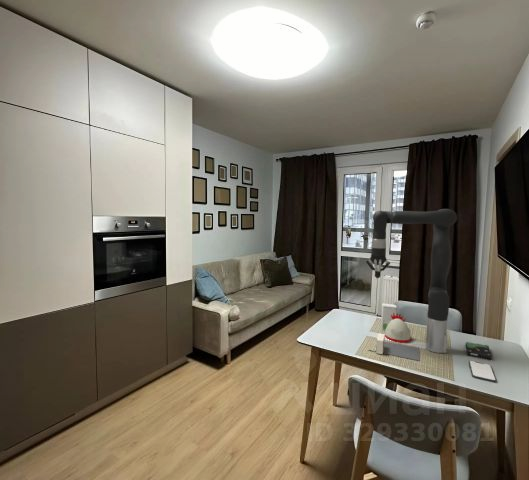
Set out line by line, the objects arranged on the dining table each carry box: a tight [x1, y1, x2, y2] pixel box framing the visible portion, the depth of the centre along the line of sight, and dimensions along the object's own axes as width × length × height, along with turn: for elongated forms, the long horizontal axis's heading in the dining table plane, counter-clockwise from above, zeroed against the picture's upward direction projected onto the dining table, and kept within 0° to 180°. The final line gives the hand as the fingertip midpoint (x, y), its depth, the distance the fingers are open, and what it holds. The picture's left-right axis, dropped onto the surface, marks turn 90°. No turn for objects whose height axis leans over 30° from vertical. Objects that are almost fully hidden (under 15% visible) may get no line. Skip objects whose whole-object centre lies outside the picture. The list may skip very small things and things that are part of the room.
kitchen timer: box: [384, 312, 412, 344], centre depth 171 cm, size 14×14×15 cm
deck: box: [375, 333, 386, 355], centre depth 154 cm, size 3×7×10 cm
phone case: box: [468, 360, 497, 384], centre depth 134 cm, size 9×2×16 cm
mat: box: [383, 341, 420, 362], centre depth 156 cm, size 24×16×1 cm, turn 63°
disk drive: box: [465, 341, 493, 361], centre depth 154 cm, size 10×3×15 cm
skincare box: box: [380, 302, 398, 331], centre depth 185 cm, size 8×7×16 cm
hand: (377, 277), depth 162 cm, fingers closed
